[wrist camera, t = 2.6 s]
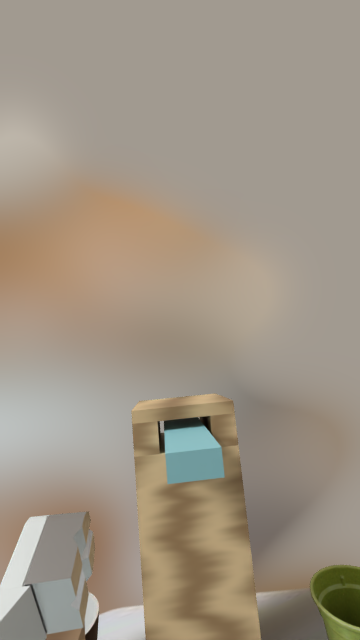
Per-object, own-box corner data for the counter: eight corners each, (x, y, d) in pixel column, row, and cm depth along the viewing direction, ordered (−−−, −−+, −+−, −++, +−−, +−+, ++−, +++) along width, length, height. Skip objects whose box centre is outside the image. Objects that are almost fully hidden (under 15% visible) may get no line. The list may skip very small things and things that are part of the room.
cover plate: (196, 429, 39) (194, 413, 39) (224, 477, 21) (221, 447, 21) (165, 432, 38) (163, 416, 39) (167, 484, 21) (165, 453, 21)
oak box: (244, 661, 35) (215, 393, 40) (277, 776, 25) (233, 400, 30) (157, 676, 34) (139, 401, 39) (155, 800, 24) (131, 410, 29)
